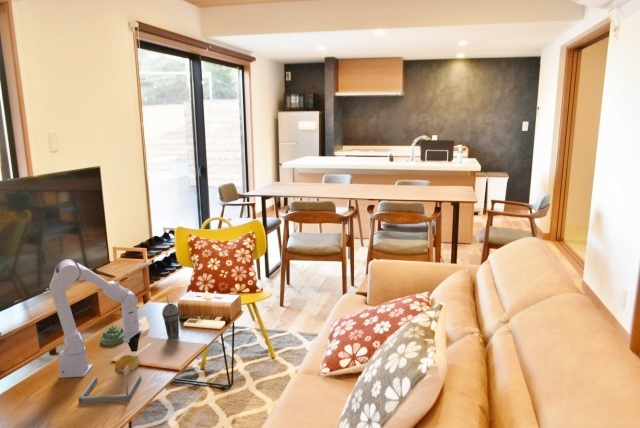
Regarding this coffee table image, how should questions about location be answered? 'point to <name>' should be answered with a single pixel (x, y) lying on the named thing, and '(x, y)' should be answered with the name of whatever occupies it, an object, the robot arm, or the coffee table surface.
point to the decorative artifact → (112, 336)
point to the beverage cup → (171, 320)
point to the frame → (109, 398)
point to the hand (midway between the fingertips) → (134, 350)
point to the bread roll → (126, 363)
